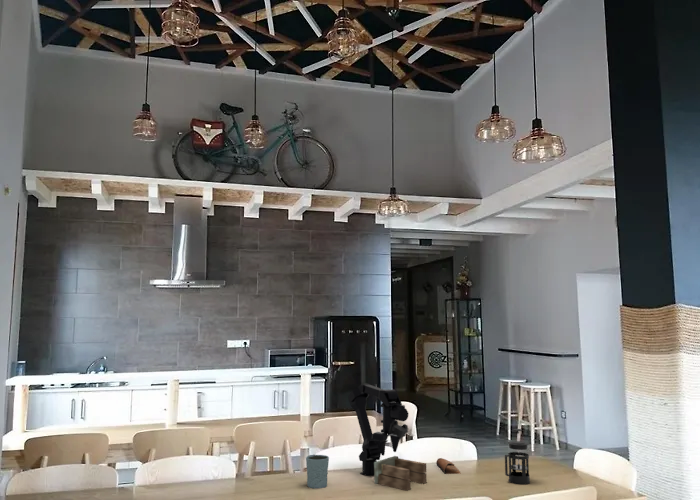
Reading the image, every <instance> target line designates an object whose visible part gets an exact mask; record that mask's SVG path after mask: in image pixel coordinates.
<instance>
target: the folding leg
mask: <svg viewBox="0 0 700 500" xmlns="http://www.w3.org/2000/svg"><path fill="white" fill-rule="evenodd" d="M382 474H384V475H388V476H392V477H396V478H400V479H405V480H407V479H409V469H405V468H401V467H396V466H392V465H387V464H382Z"/></svg>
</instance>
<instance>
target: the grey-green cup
mask: <svg viewBox="0 0 700 500" xmlns="http://www.w3.org/2000/svg"><path fill="white" fill-rule="evenodd" d="M329 459H330V457H329V456H328V455H325V454H310V455H307V456H306V457H305V464H306V474H307V475H306V483H307V487H308V488H310V489H324V488H327V486H328V474H329V472H328V471H329Z"/></svg>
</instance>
